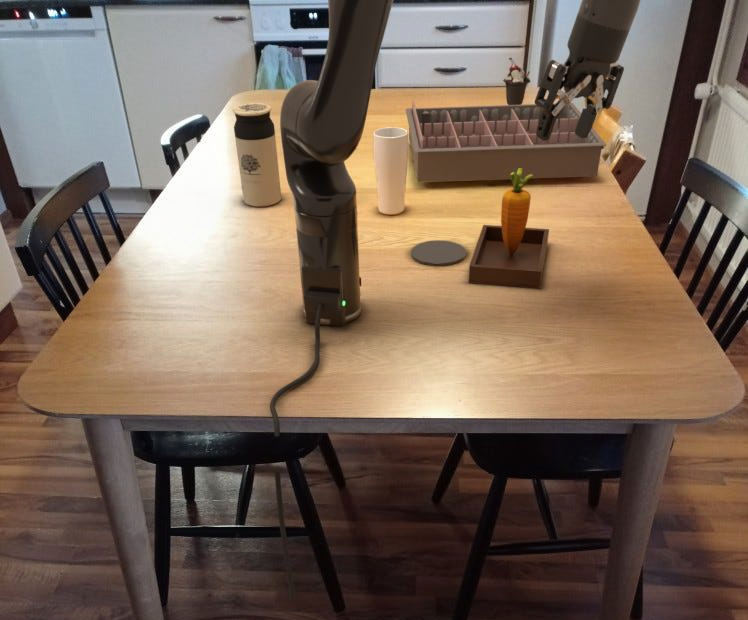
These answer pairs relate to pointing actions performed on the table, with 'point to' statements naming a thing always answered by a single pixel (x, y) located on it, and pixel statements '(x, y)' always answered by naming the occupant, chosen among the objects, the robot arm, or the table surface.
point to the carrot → (515, 212)
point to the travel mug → (257, 154)
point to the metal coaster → (438, 253)
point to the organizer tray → (498, 143)
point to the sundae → (515, 85)
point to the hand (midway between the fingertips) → (561, 137)
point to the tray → (509, 258)
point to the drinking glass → (390, 168)
